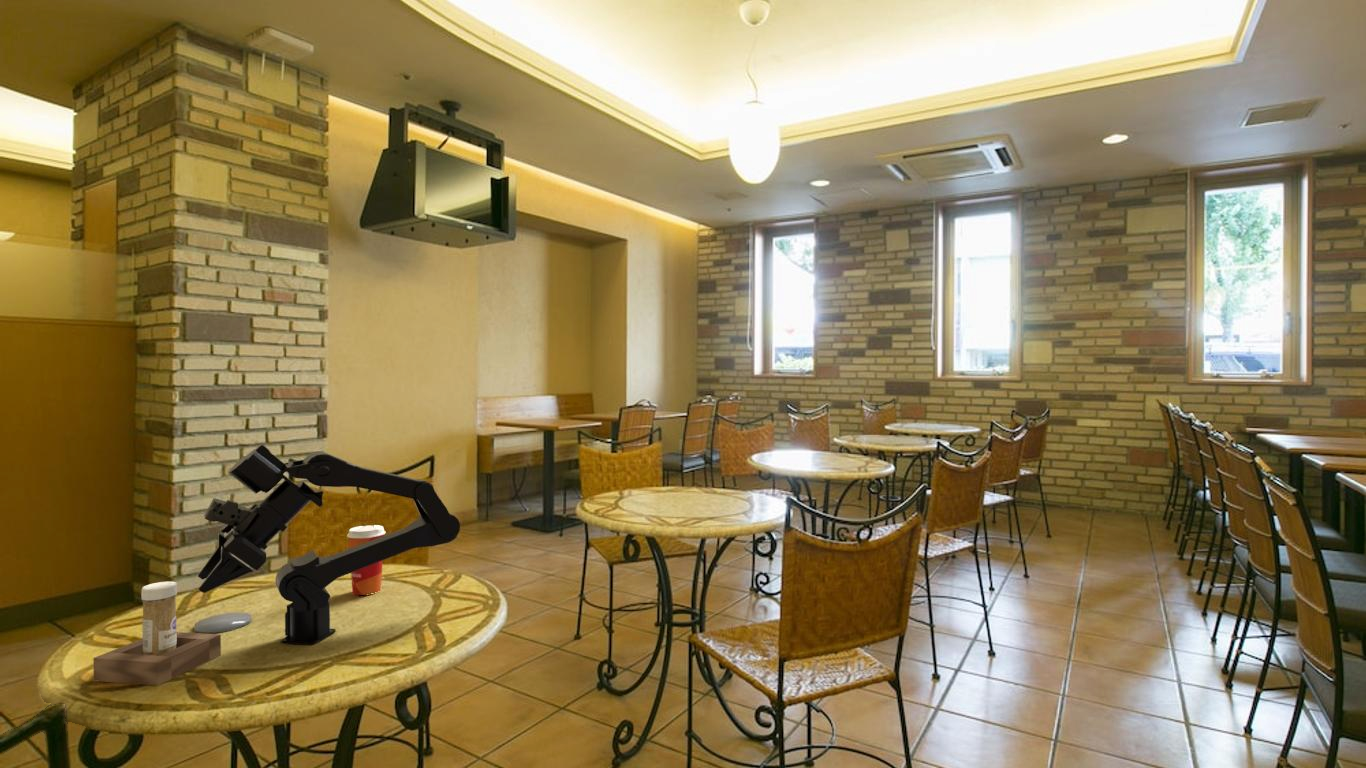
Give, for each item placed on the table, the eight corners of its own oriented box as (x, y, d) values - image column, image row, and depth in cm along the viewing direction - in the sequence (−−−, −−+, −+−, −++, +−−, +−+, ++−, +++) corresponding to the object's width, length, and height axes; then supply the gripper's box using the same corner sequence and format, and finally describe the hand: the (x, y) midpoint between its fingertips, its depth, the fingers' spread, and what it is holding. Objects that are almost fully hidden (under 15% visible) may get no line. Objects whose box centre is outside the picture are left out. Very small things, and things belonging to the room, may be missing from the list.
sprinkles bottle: (176, 669, 109) (175, 585, 109) (140, 676, 107) (139, 590, 106) (178, 659, 113) (177, 578, 113) (143, 665, 110) (143, 583, 110)
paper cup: (350, 588, 151) (350, 525, 151) (387, 585, 154) (387, 523, 154) (344, 599, 144) (343, 533, 144) (383, 595, 146) (383, 530, 146)
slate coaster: (262, 617, 133) (262, 613, 133) (225, 634, 124) (225, 630, 124) (222, 615, 134) (222, 611, 134) (181, 632, 125) (181, 627, 125)
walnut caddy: (220, 655, 114) (220, 634, 114) (158, 685, 103) (158, 662, 103) (161, 651, 116) (161, 630, 116) (93, 680, 105) (93, 658, 105)
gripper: (235, 474, 123) (158, 544, 117) (241, 487, 108) (154, 568, 102) (285, 513, 128) (214, 581, 122) (298, 530, 113) (218, 610, 107)
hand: (200, 584), depth 113 cm, fingers open, 9 cm apart
